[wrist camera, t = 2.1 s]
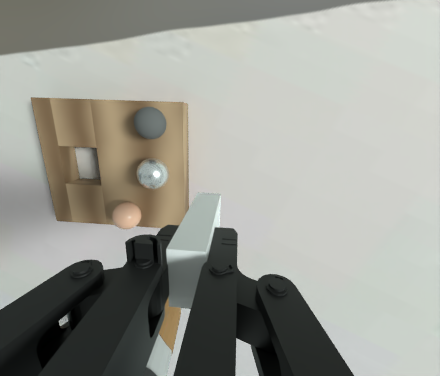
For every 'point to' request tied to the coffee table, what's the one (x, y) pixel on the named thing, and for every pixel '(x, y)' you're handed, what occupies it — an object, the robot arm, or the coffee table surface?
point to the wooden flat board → (112, 159)
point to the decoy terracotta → (126, 215)
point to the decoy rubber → (150, 123)
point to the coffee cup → (164, 343)
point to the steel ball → (152, 173)
